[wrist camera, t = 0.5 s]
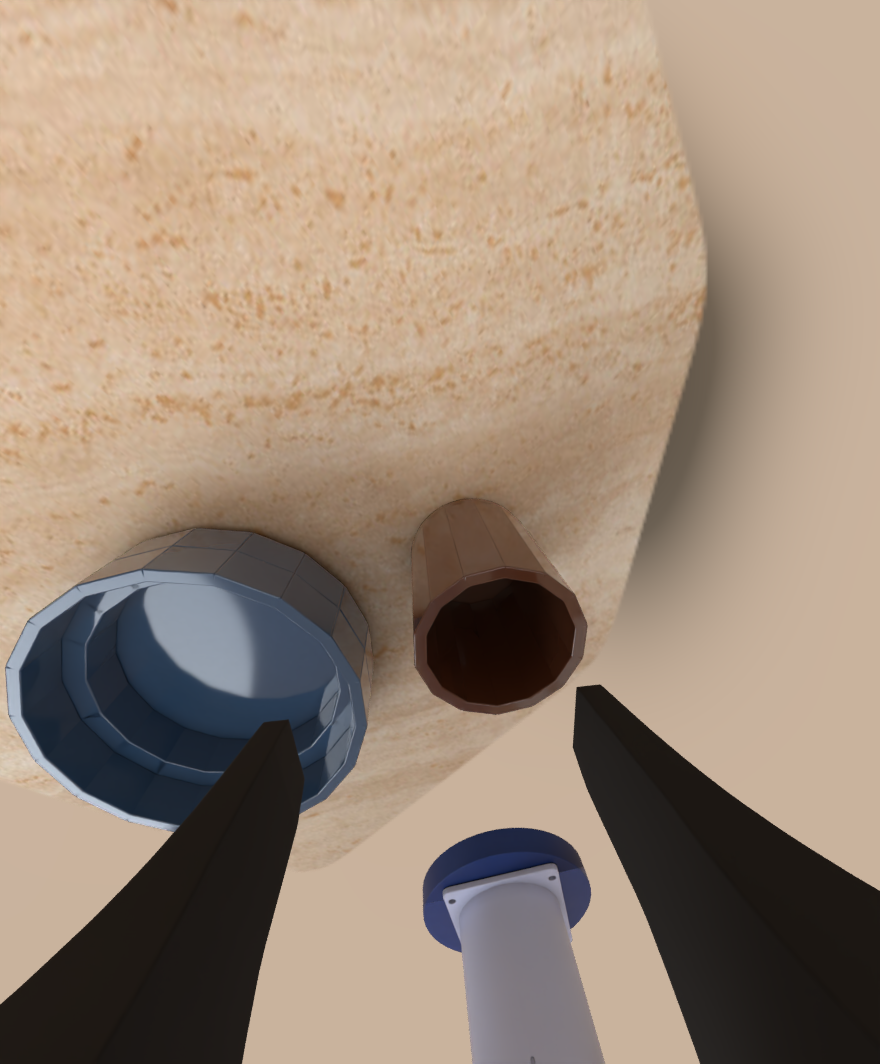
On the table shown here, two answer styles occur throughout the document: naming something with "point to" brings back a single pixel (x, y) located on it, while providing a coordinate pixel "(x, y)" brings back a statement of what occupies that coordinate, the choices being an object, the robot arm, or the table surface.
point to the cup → (490, 611)
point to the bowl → (191, 672)
